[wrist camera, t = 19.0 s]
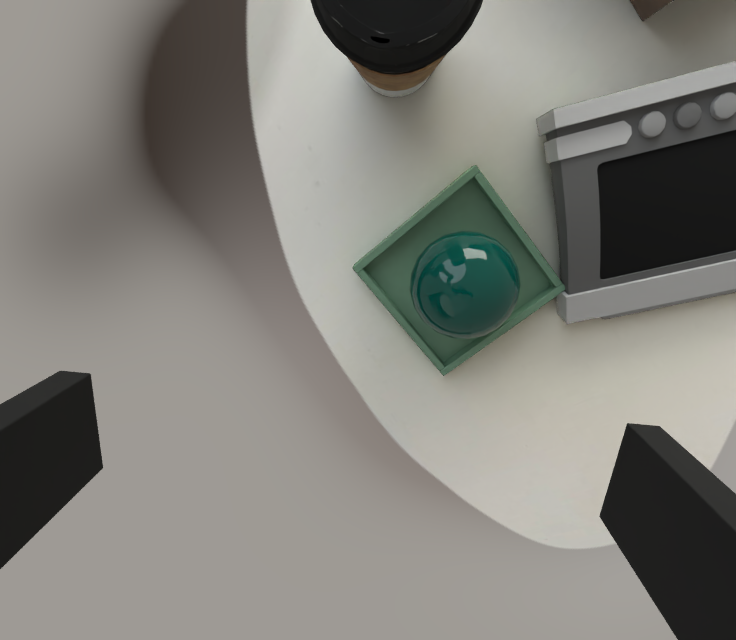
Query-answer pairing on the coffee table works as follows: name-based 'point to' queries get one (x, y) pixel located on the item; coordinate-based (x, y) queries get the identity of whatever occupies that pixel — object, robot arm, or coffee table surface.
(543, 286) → the tray
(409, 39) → the coffee cup
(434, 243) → the sphere
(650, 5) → the box
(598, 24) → the coffee table surface
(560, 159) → the alarm clock
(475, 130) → the coffee table surface
